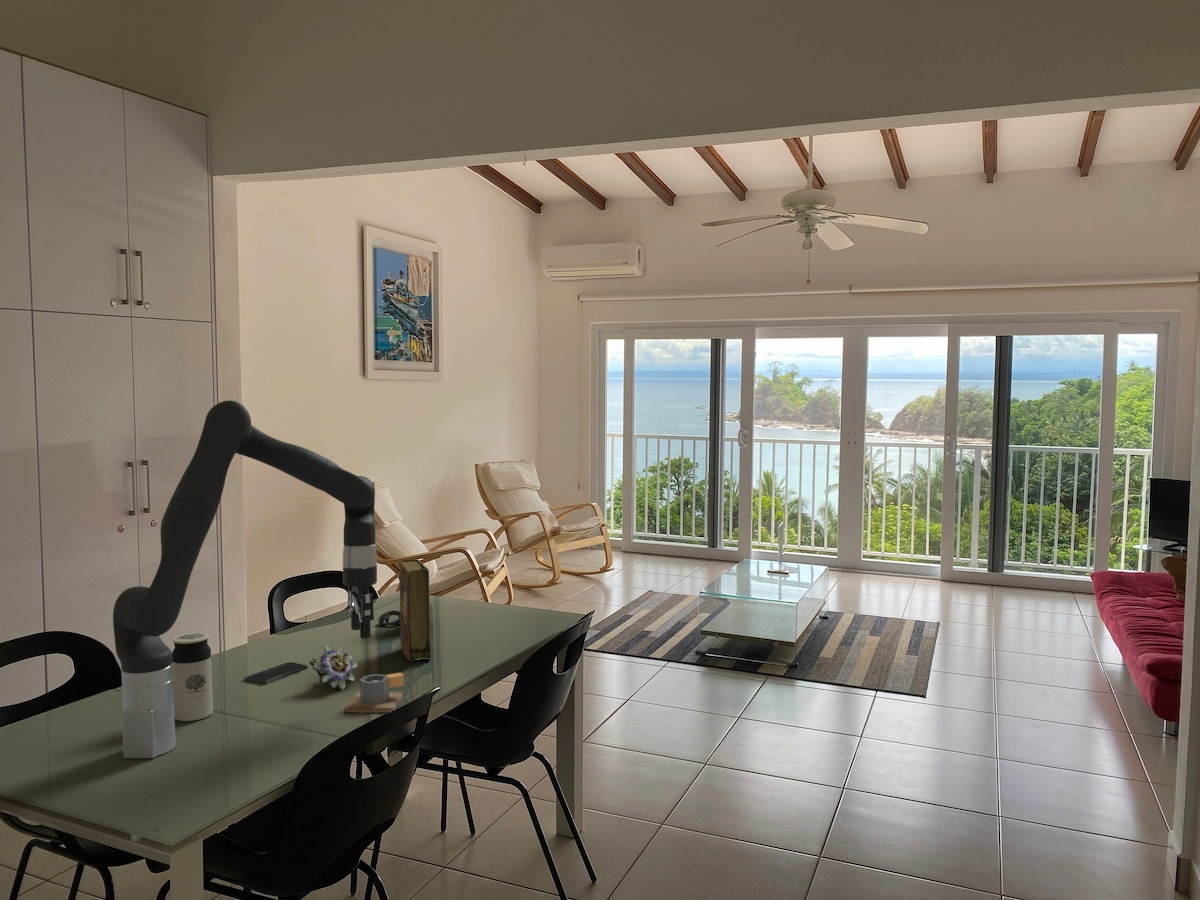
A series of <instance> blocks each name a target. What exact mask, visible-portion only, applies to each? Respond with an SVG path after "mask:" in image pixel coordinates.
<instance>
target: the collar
mask: <svg viewBox="0 0 1200 900" xmlns="http://www.w3.org/2000/svg"><path fill="white" fill-rule="evenodd" d="M373 680H378V681H375V682H371V681H373ZM402 686H405V675H404V674H403V673H402V672H397V673H389V674H377V673H375V674H370V675H369V674H368V675H364V676H363V677H362V678H360V679H359V692H360V700H361V701H362V703H363V704H379V703H384V702H385V701H387V700H388V699H389V692H390V688H397V687H402Z"/></svg>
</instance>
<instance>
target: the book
mask: <svg viewBox="0 0 1200 900" xmlns="http://www.w3.org/2000/svg"><path fill="white" fill-rule="evenodd" d="M398 565H399V568H398V569H399V606H400V607H399V608H400V609H399V612H400V620H401V622H400V627H401V628H400V648H401V647H402V649H403V651H404V653H405V654H406V656H407V657H408V659H409V661H412V660H415V659H418V658H431V655H432V654H431V653H432V652H431V650H432V649H431V627H430V624H431V614H430V612H431V609H430V581H429V580H430V571H429V568H428V567H427V566H426V565H425V564H424V563H423V562H422V561H421V560H419V559H402V560H399V561H398ZM402 649H401V650H402ZM403 651H402V652H403ZM404 653H403V654H404ZM405 654H404V655H405ZM406 656H405V657H406ZM408 659H407V660H408ZM409 661H408V662H409Z"/></svg>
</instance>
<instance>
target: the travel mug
mask: <svg viewBox="0 0 1200 900" xmlns="http://www.w3.org/2000/svg"><path fill="white" fill-rule="evenodd" d="M209 638H210V635H209V634H208V633H206V632H191V633H190V632H189V633H183V634H179V635H176V636H174V637H173V638H172V642H173V646H174V648H173V650H172V651H171V652H172V665H173V692H174V718H175V720H177V721H179V722H195V721H194V720H196V721H199V720H200V721H201V720H204V719H205V718H207V717H209V716H211V715H212V714H214V704H213V703H214V702H213V701H214V699H213V677H212V676H213V675H212V674H213V673H212V670H213V669H212V650H211V647H210V646H209V644H208V640H209Z"/></svg>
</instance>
